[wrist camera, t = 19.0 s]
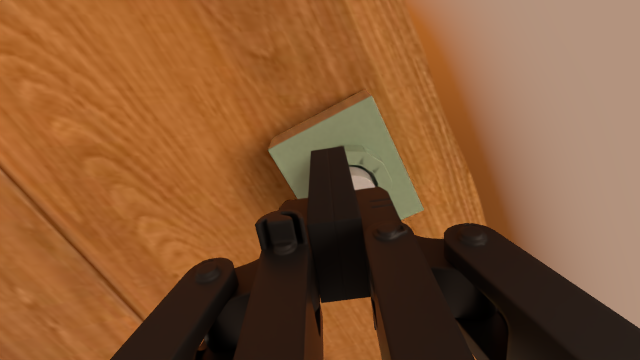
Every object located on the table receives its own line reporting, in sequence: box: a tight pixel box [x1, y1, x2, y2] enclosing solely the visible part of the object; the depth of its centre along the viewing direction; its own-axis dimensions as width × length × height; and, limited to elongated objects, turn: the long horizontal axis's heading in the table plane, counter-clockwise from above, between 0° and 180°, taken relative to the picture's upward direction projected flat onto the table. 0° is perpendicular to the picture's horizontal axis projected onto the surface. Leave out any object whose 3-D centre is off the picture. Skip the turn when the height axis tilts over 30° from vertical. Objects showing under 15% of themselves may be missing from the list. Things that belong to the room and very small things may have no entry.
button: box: [349, 167, 375, 190], centre depth 28 cm, size 4×4×2 cm
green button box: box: [268, 89, 424, 220], centre depth 32 cm, size 12×10×6 cm
